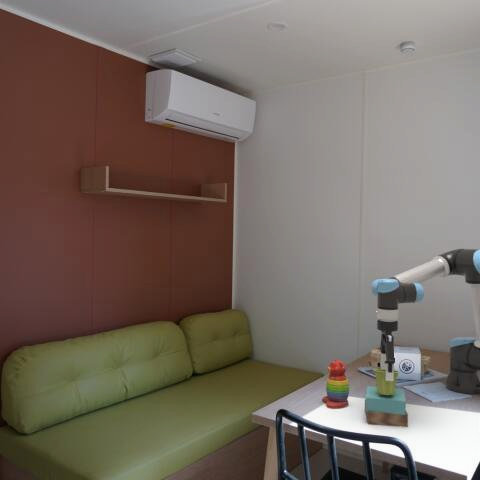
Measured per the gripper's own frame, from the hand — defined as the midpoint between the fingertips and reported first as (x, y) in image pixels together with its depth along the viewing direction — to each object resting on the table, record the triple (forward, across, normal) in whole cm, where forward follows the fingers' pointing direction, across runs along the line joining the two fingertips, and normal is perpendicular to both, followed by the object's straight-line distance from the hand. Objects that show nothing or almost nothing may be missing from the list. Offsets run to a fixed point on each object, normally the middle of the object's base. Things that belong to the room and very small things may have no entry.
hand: (386, 375), depth 188 cm
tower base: (+17, +1, 0) cm, 17 cm away
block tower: (+17, -70, +16) cm, 74 cm away
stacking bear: (+16, -12, -18) cm, 27 cm away
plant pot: (+6, +3, 0) cm, 7 cm away
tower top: (+12, 0, 0) cm, 12 cm away
